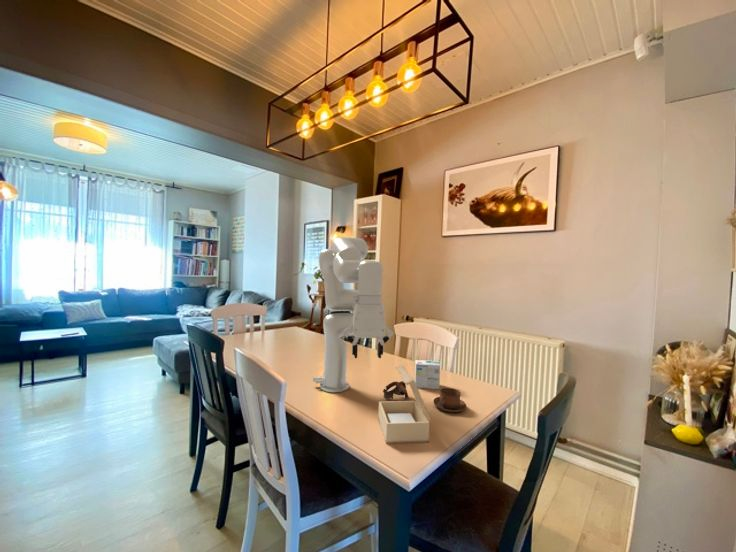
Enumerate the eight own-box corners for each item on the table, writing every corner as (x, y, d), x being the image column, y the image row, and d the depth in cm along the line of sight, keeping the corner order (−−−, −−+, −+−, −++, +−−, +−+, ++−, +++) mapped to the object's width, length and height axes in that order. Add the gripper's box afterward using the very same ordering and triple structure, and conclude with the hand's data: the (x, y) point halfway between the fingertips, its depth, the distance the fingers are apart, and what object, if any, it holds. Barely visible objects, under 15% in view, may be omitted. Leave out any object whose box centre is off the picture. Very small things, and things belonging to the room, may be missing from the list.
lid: (406, 383, 91) (414, 379, 91) (395, 367, 105) (402, 364, 106) (423, 423, 92) (431, 419, 92) (410, 402, 106) (417, 398, 107)
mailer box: (386, 443, 91) (386, 423, 90) (378, 418, 105) (378, 401, 105) (428, 442, 92) (429, 422, 92) (415, 417, 107) (415, 400, 107)
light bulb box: (437, 384, 140) (438, 360, 139) (439, 389, 133) (440, 365, 133) (414, 382, 141) (415, 359, 141) (414, 388, 134) (415, 363, 134)
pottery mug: (407, 409, 114) (397, 390, 114) (387, 414, 119) (376, 396, 118) (416, 390, 125) (406, 373, 124) (396, 395, 129) (387, 378, 129)
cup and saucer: (462, 418, 108) (463, 401, 108) (429, 410, 114) (430, 393, 114) (468, 405, 119) (469, 389, 119) (438, 398, 124) (438, 383, 124)
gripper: (342, 301, 91) (340, 360, 92) (399, 302, 94) (397, 360, 94) (341, 298, 99) (339, 353, 99) (394, 299, 101) (392, 353, 101)
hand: (367, 356), depth 97 cm, fingers open, 6 cm apart
